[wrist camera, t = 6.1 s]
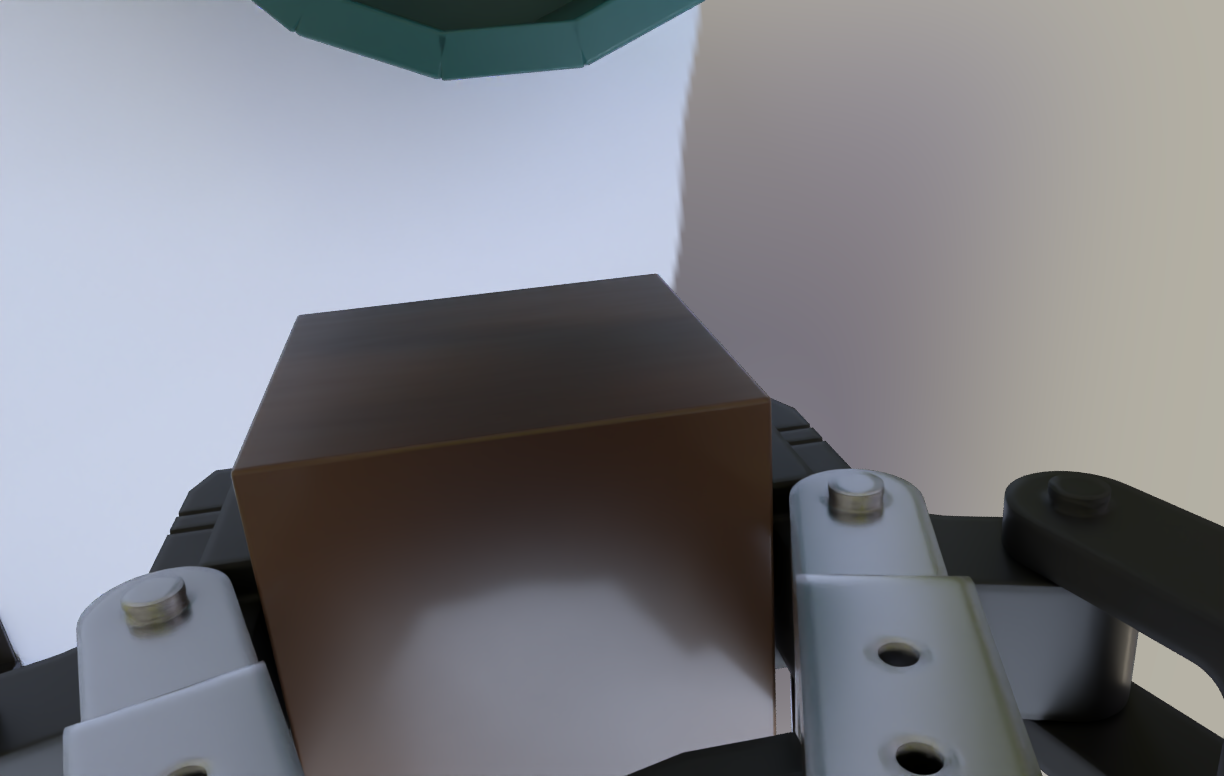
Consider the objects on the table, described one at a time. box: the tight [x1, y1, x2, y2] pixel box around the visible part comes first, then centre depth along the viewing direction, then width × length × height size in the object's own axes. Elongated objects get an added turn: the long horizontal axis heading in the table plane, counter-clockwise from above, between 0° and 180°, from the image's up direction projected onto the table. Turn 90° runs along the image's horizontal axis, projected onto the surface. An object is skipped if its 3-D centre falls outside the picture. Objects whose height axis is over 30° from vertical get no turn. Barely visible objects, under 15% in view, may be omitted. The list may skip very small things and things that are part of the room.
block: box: [231, 274, 776, 776], centre depth 11 cm, size 5×5×5 cm
